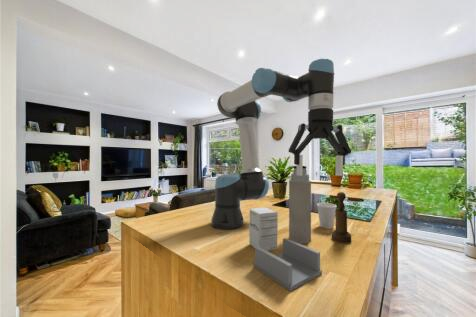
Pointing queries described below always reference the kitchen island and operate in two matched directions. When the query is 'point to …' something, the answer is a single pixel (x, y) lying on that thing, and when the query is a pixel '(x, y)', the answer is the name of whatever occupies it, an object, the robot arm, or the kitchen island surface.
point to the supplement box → (263, 228)
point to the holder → (289, 264)
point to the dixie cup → (326, 214)
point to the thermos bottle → (300, 207)
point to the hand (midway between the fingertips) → (319, 175)
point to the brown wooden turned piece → (341, 222)
